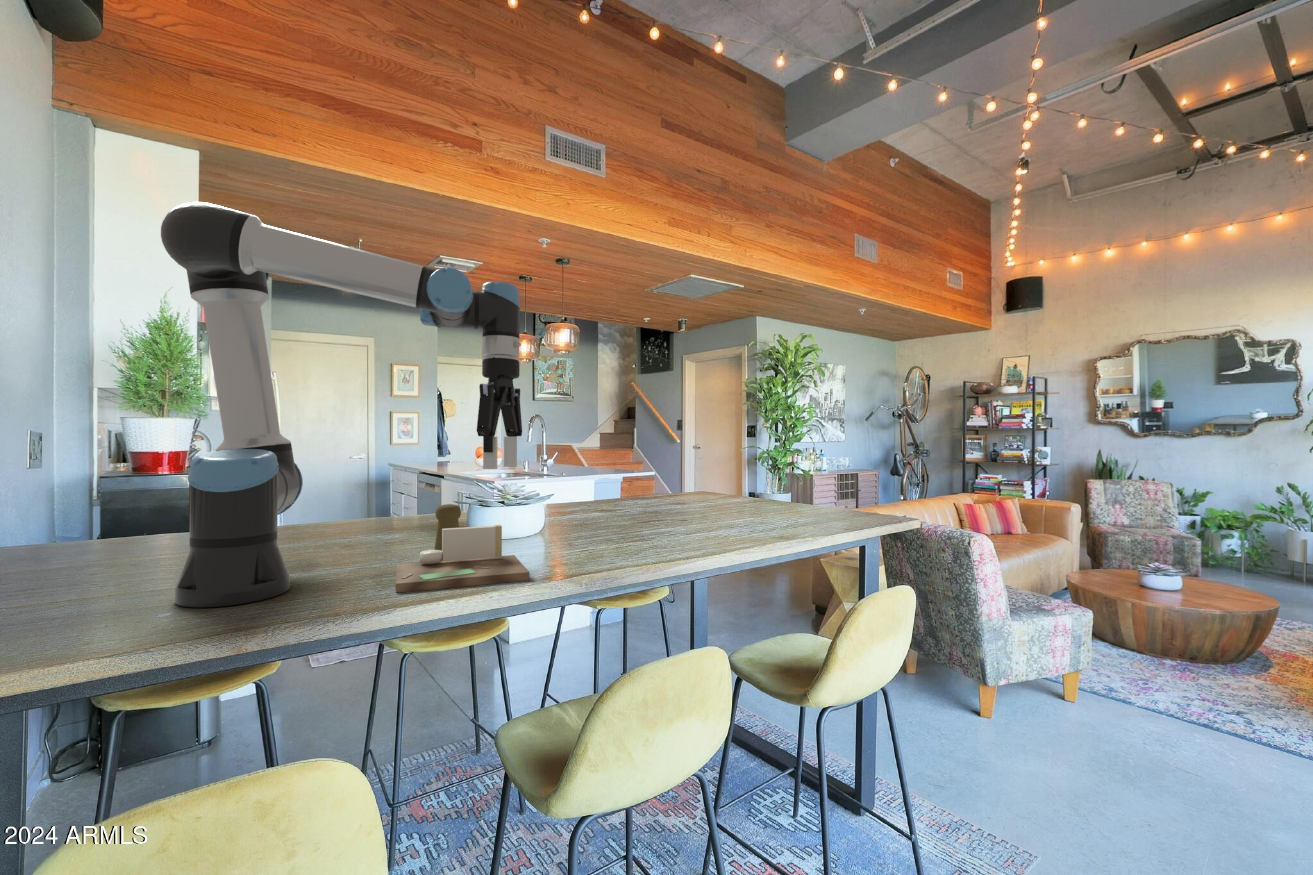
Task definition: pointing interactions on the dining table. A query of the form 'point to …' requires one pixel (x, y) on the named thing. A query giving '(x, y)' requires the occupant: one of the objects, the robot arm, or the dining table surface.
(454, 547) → the cream block with knob
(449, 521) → the cork
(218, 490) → the robot arm
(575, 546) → the dining table surface
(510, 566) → the brown flat wooden board
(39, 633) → the dining table surface
